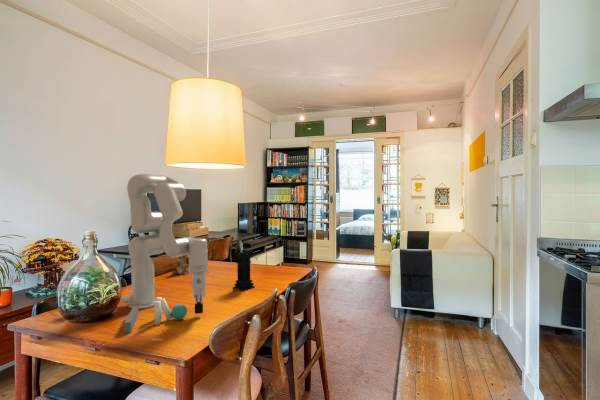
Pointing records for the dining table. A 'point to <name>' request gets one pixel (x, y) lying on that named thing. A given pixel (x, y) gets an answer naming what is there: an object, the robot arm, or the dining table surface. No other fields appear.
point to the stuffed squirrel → (182, 265)
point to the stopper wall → (131, 320)
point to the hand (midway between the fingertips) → (198, 312)
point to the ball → (179, 312)
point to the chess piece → (243, 270)
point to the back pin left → (158, 300)
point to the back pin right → (157, 312)
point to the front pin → (166, 309)
